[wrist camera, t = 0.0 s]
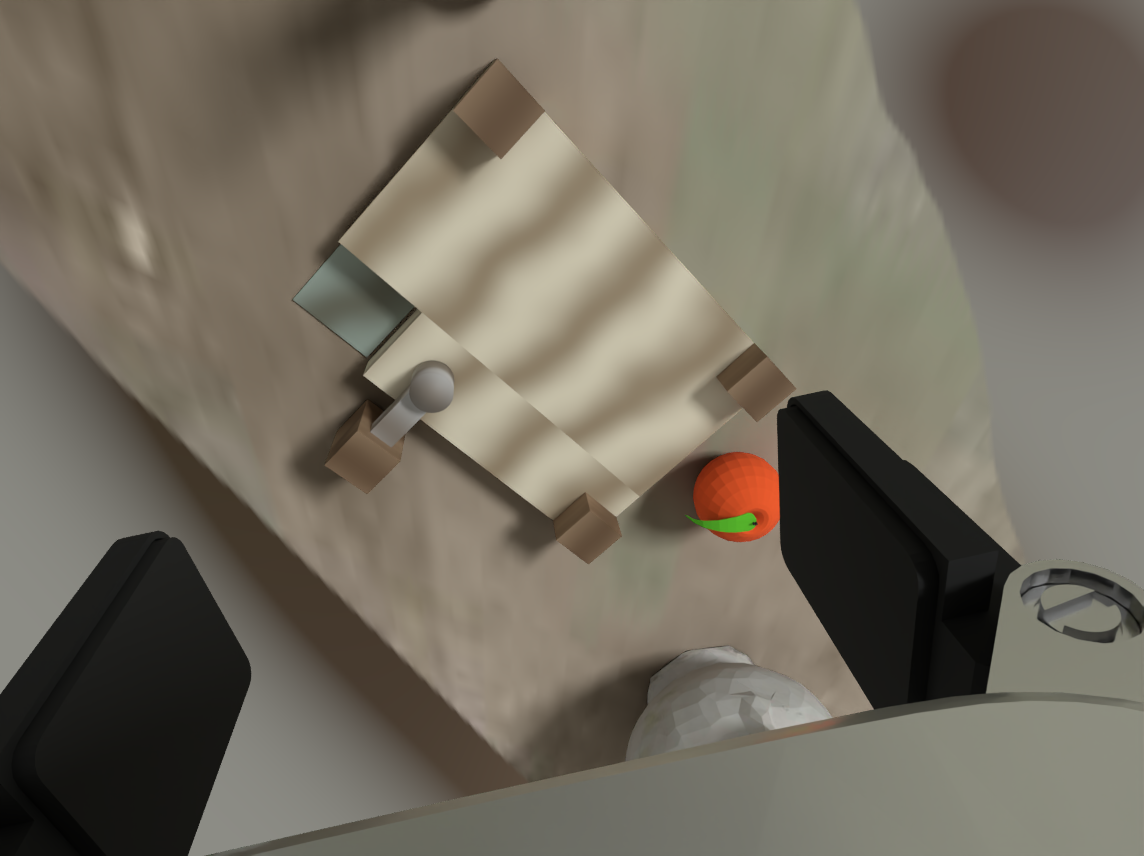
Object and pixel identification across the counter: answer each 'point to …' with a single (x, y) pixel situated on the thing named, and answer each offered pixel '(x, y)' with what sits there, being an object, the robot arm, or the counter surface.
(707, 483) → the clementine
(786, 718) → the ceramic pitcher
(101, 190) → the counter surface
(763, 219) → the counter surface
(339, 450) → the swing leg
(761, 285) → the counter surface
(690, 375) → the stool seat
